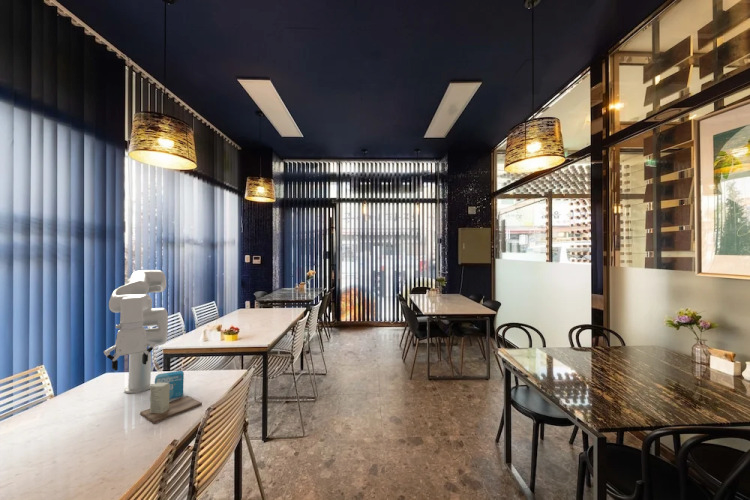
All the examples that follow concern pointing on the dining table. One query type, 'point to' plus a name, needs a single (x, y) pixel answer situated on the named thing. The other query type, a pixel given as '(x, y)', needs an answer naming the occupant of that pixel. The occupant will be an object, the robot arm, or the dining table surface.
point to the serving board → (172, 409)
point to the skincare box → (159, 397)
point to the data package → (172, 382)
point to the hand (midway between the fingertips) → (130, 366)
